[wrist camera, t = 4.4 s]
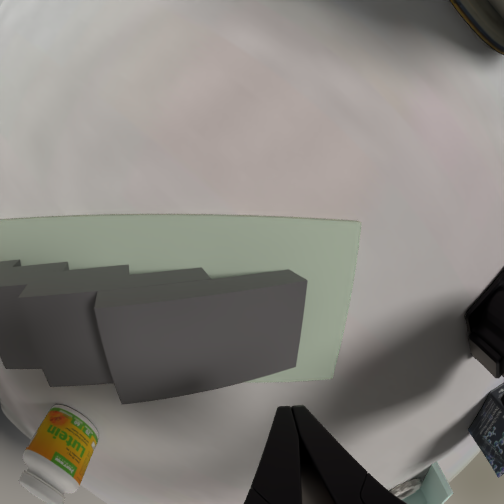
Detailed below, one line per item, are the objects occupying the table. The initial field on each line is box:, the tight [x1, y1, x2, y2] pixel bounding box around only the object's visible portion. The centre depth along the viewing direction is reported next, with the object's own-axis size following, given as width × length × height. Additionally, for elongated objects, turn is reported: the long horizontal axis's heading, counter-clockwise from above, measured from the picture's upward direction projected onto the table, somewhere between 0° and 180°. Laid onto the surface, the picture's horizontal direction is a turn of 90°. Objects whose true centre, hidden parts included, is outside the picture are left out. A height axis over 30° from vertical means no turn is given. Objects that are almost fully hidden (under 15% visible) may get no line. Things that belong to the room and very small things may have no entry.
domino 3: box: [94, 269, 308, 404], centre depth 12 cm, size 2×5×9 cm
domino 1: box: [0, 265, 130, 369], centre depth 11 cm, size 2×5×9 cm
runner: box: [0, 214, 361, 382], centre depth 14 cm, size 30×10×1 cm, turn 88°
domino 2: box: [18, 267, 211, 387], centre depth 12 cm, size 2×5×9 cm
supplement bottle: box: [19, 405, 99, 504], centre depth 13 cm, size 5×5×10 cm
